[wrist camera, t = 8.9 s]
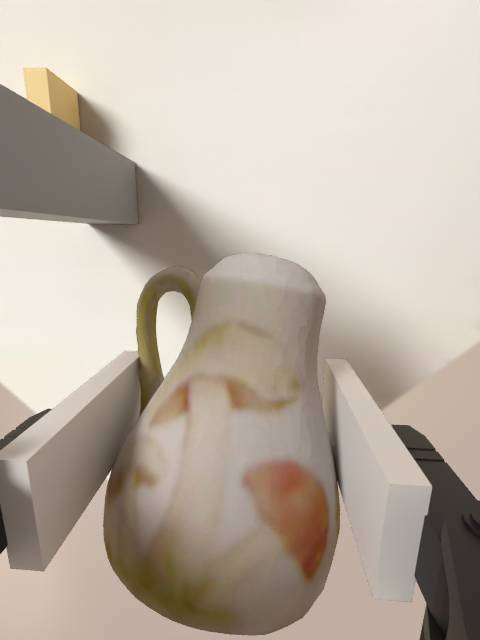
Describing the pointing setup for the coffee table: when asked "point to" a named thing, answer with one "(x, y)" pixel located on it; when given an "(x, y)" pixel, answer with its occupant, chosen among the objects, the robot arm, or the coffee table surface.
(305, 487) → the white floral pitcher
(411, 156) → the coffee table surface
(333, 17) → the coffee table surface
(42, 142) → the post
